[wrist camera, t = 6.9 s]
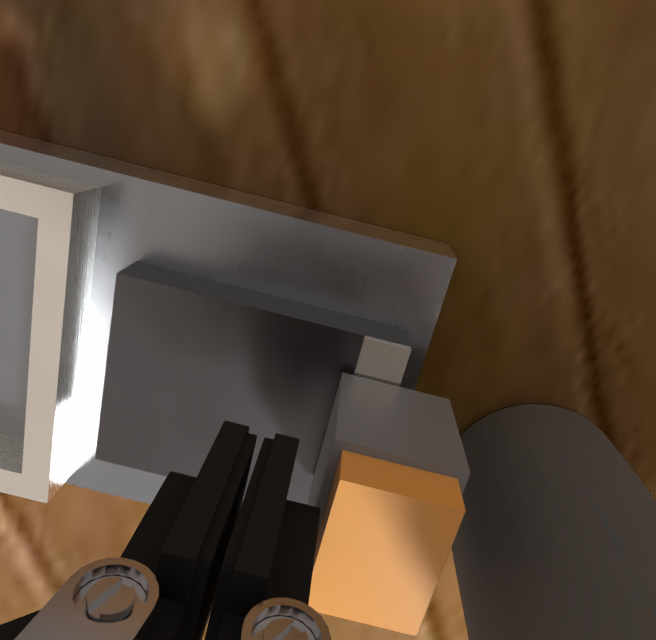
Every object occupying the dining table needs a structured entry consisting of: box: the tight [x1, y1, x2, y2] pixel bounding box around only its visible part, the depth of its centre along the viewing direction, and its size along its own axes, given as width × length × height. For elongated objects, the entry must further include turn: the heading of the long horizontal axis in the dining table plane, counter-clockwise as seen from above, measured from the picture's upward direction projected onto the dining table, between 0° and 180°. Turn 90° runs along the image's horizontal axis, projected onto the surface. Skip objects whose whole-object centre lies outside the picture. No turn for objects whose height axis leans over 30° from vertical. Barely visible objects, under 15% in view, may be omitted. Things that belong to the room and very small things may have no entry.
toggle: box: [308, 372, 470, 636], centre depth 13 cm, size 3×4×4 cm
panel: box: [0, 130, 457, 505], centre depth 17 cm, size 19×10×4 cm, turn 77°
